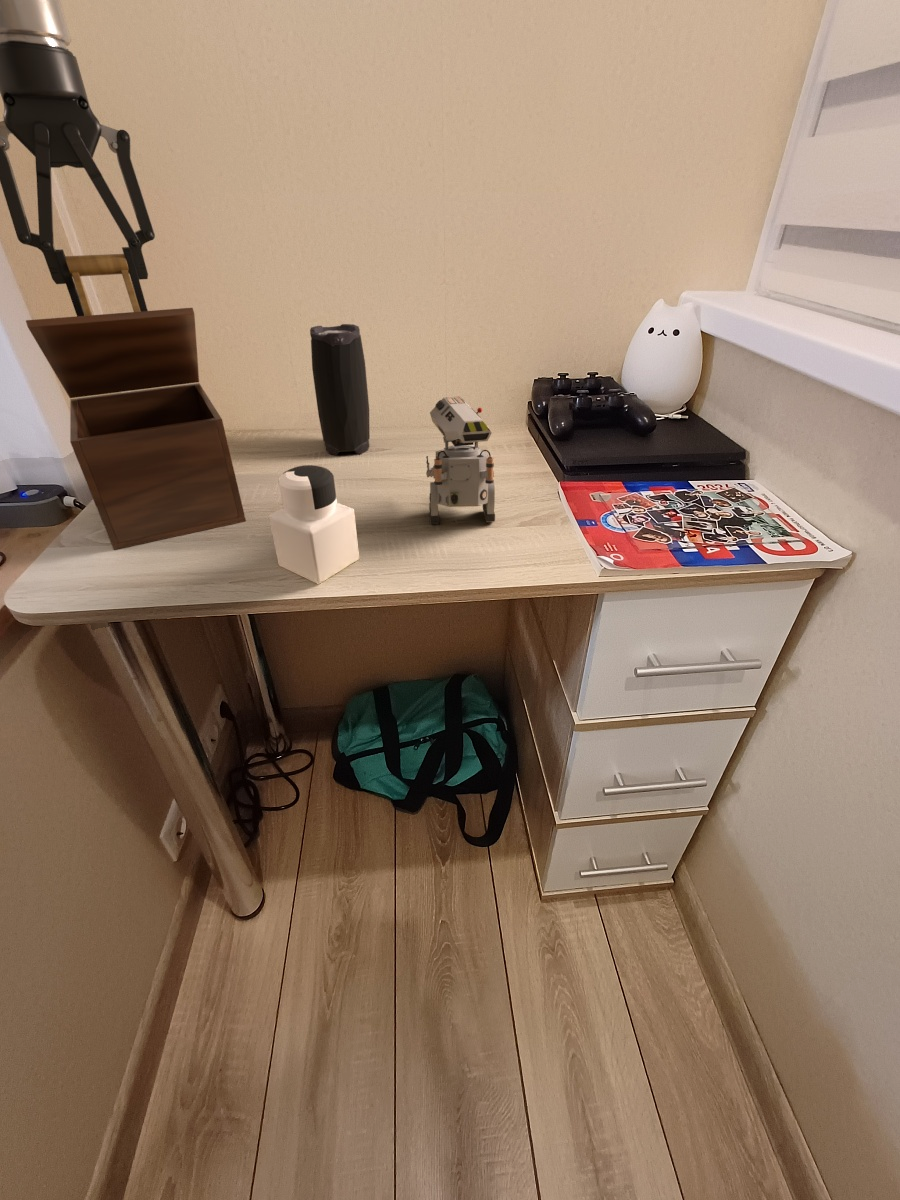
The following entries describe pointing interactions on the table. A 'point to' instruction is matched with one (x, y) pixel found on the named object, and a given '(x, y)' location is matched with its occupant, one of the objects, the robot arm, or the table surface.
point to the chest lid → (117, 340)
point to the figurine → (461, 460)
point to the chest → (155, 463)
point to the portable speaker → (341, 387)
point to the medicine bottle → (313, 525)
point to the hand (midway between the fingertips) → (112, 312)
